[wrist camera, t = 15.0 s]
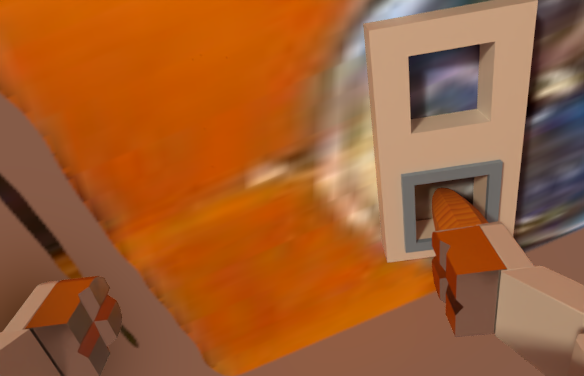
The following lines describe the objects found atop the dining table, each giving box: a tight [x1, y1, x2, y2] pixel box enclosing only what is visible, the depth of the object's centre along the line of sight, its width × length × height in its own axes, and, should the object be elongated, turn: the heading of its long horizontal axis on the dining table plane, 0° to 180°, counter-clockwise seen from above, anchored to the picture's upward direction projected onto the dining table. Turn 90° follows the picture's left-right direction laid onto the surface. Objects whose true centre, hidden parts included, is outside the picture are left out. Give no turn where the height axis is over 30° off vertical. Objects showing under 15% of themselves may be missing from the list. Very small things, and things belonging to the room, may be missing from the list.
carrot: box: [432, 188, 488, 231], centre depth 42 cm, size 5×5×15 cm
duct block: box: [363, 0, 538, 262], centre depth 44 cm, size 14×26×4 cm, turn 10°
